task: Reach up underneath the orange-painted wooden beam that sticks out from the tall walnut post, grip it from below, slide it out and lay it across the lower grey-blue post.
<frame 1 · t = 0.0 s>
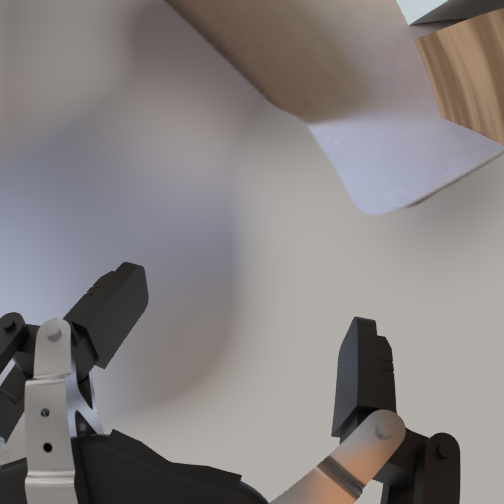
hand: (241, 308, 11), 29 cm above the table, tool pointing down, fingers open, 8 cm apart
tall post: (468, 71, 24), on the table
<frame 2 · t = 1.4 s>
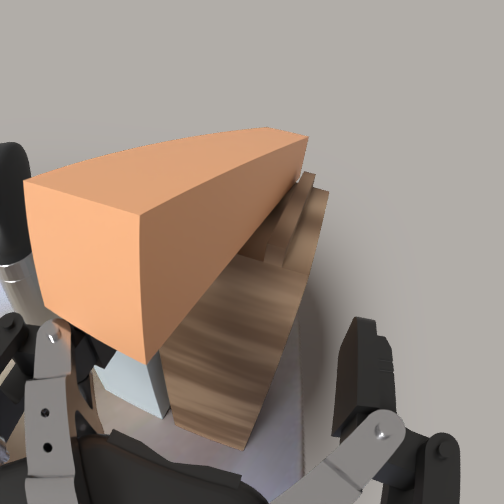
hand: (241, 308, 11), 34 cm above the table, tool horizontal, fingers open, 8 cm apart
beam: (234, 206, 18), point 33 cm above the table, tilted 8°
short post: (151, 374, 42), on the table
tall post: (223, 405, 40), on the table
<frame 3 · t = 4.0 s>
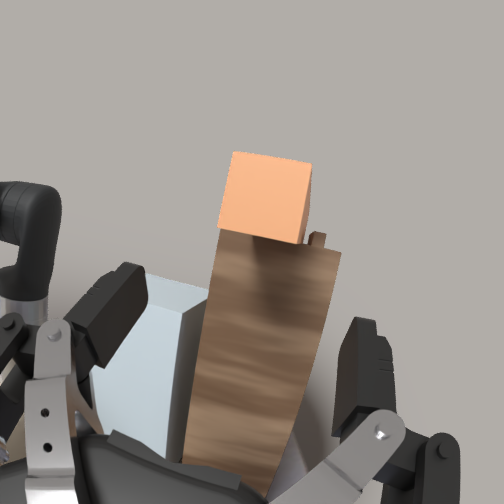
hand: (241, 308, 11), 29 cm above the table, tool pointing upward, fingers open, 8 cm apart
beam: (278, 238, 27), point 32 cm above the table, touching tall post
short post: (146, 448, 34), on the table
tall post: (228, 475, 32), on the table
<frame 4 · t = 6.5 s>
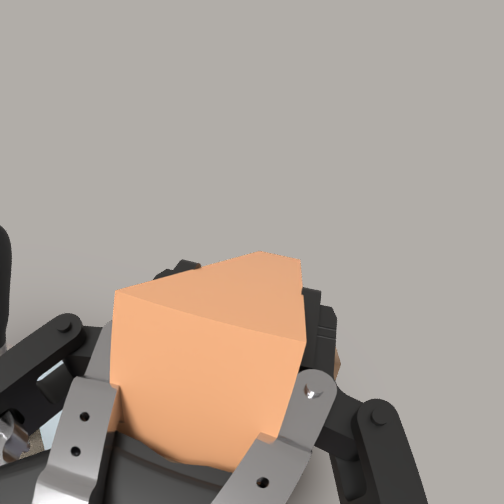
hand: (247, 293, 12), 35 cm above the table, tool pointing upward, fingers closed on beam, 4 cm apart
beam: (253, 330, 18), point 32 cm above the table, touching gripper, tall post
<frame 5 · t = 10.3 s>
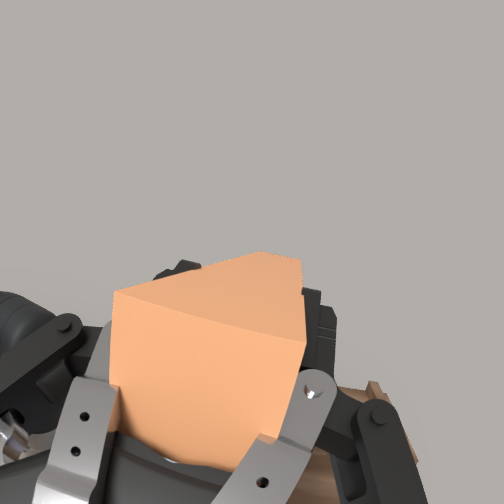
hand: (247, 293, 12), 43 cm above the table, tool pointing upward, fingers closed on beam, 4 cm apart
beam: (253, 331, 18), point 40 cm above the table, touching gripper
when the fingers open (29 cm above the table, at t = 13.9 s): beam drops 1 cm, resting on short post.
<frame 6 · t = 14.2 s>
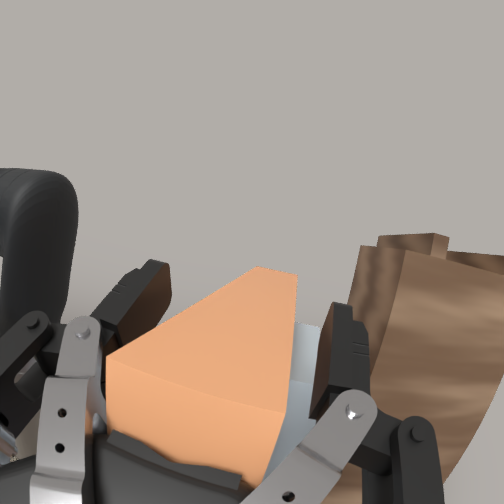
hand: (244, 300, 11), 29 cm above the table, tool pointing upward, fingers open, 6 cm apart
beam: (248, 354, 18), point 24 cm above the table, touching short post
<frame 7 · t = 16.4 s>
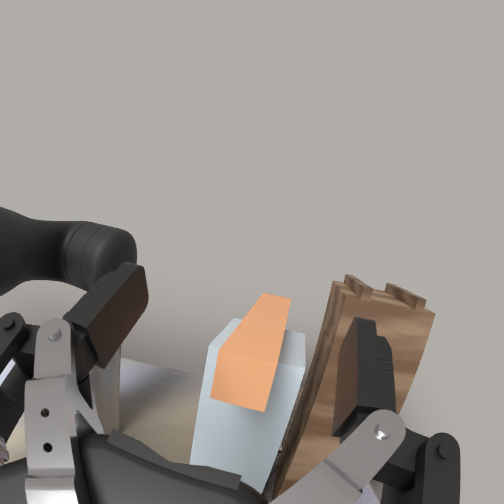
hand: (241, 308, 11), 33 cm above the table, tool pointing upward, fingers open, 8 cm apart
beam: (260, 350, 31), point 24 cm above the table, touching short post
short post: (229, 474, 37), on the table
tall post: (305, 490, 35), on the table
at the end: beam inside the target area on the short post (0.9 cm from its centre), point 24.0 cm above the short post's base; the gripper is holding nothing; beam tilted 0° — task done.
